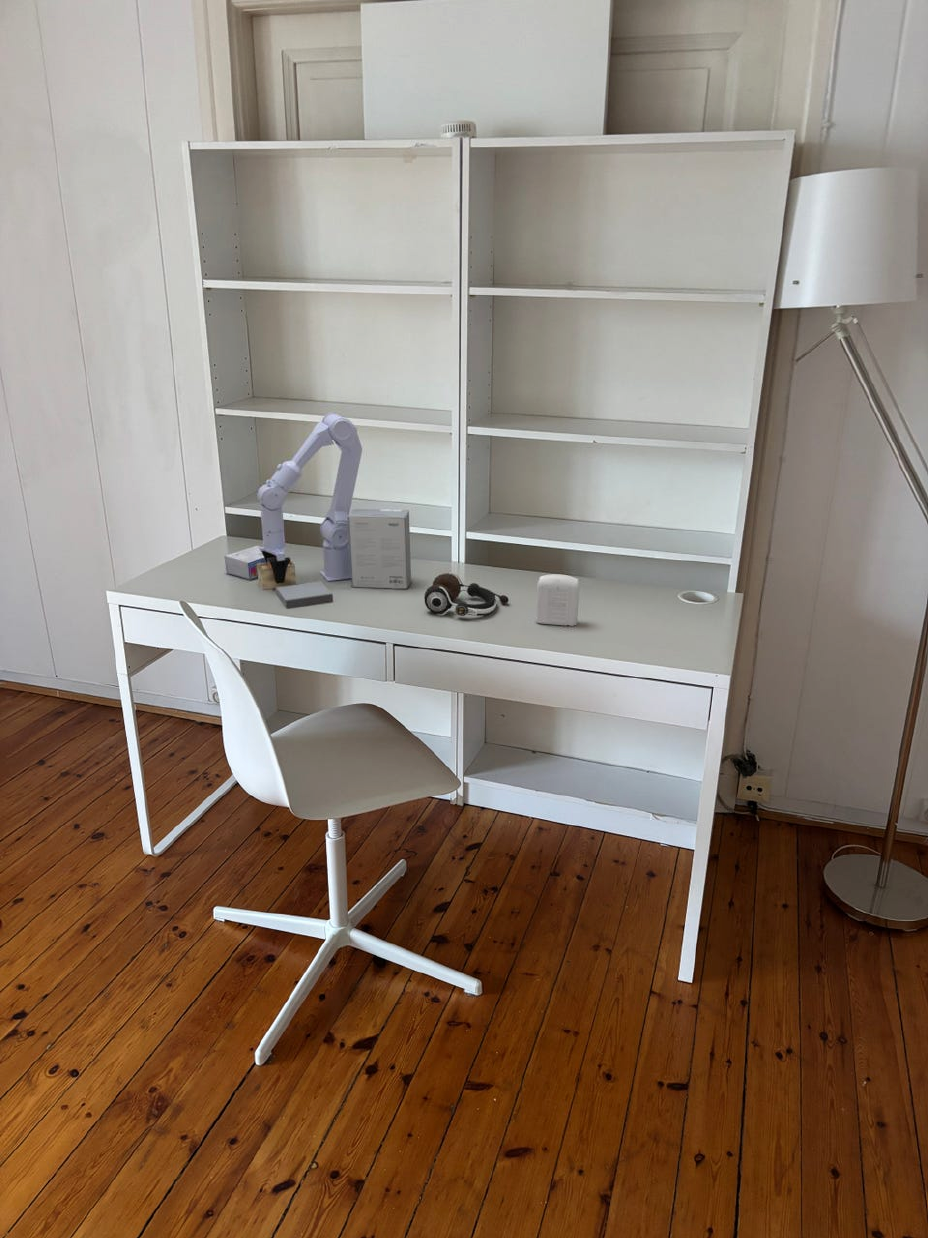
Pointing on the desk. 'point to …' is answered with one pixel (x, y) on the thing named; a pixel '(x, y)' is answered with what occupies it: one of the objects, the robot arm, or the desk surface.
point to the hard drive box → (379, 548)
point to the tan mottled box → (267, 576)
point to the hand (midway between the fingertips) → (276, 578)
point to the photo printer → (557, 600)
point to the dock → (304, 594)
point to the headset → (450, 588)
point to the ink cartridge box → (244, 563)
